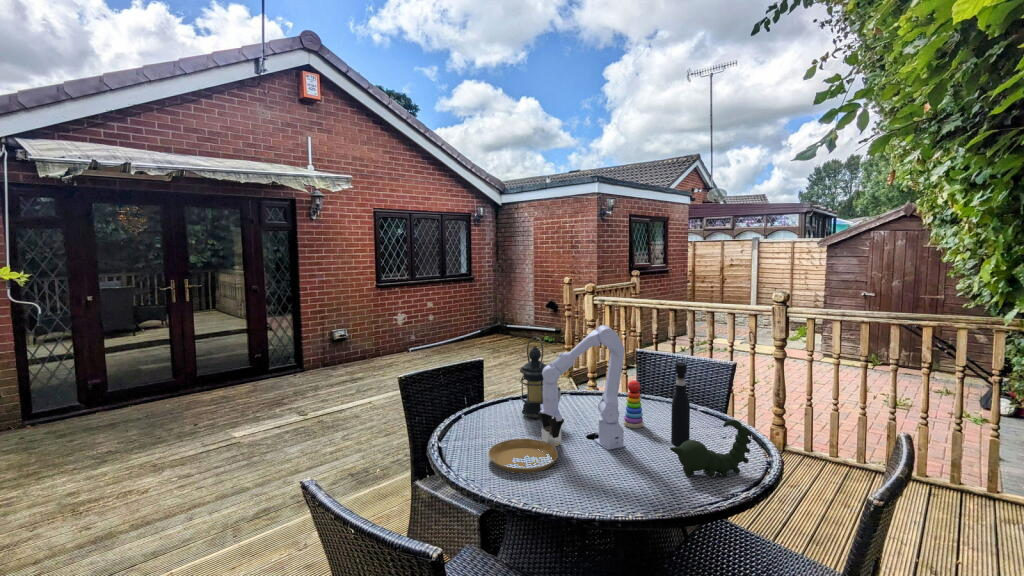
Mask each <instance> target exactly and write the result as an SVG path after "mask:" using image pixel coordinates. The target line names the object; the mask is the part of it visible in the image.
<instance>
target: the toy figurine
mask: <svg viewBox="0 0 1024 576" xmlns="http://www.w3.org/2000/svg"><path fill="white" fill-rule="evenodd" d="M728 426H729V427H733V428H734V429H735V430H736V431H737V434H736V435H735V437H734V440H735V441H734V442H733V443H732V447H731V449H730V450H729V452H727V453H721V452H720V453H719V452H718V453H717V452H715V450H710V449H708V448H707V447H706V445H705V444H704V443H702V442H700V441H698V440H693V439H690V440H688V441H685V442H684V443H682V444H681V445H680V447H678V446H674V447H670V448H669V450H670V451H672V452H673V453H674V454H676V455H677V458H678V461H679V462H680V464H681V465H682V466H683V467H682V472H684V474H685V475H686V476H688V477H692V476H694V475H695V472H700V471H704V472H706V475H707V476H708V477H710V478H713V477H715V476H716V473H717V474H720V475H721V477H722V478H724V479H727V478H728V476H729V471H733V474H736V475H737V474H740V472H741V469H740V468H739V464H741V463H742V462H743V463H744V464H748V463H749V461H750V460H749V458H748V457H746V455H745V454H750V452H751V448H748V446H747V445H748V444H751V443H752V439H750V438H749V436H752V431H750V430H749V428H748V427H746V426H743V425H742V423H741V422H740V421H739V420H736V419H728V420H727V421H725V422H724V423H723V425H722V427H723V428H726V427H728Z"/></svg>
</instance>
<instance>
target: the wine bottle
mask: <svg viewBox="0 0 1024 576" xmlns="http://www.w3.org/2000/svg"><path fill="white" fill-rule="evenodd" d="M687 366H688V365H687V364H686V363H684V362H676V363H675V374H677V376H676V377H677V379H676V380H675V390H674V391H675V392H674V395H673V397H672V401H671V424H670V425H671V426H670V427H671V428H670V430H671V432H670V433H671V434H670V435H671V436H670V437H671V438H670V441H671V442H670V443H671V445H673V446H674V447H680V445H681V444H682V443H684V442H685V441H688V440H691V439H690V436H691V435H690V429H691V428H690V425H691V423H690V422H691V421H690V419H691V414H690V413H691V412H690V411H691V405H690V400H689V399H690V398H689V396H688V394H687V384H686V378H685V376H686V374H687V372H688V371H687V370H688V369H687Z"/></svg>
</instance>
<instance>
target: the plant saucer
mask: <svg viewBox="0 0 1024 576" xmlns="http://www.w3.org/2000/svg"><path fill="white" fill-rule="evenodd" d="M538 449H539V450H540V451H539V450H538ZM542 451H543V452H542ZM487 454H488V457H489V459H490V461H491V462H492V464H493V465H495V466H496V467H497V468H499V469H500V468H501V470H502V469H503V471H505V472H508V471H509V472H508V473H511V472H514V473H513V474H518V473H530V474H534V472H536V473H539V471H540V472H542V470H543V471H545V470H547V469H549V468H550V467H551V466H552V465H554V464H555V462H556V461H557V459H558V457H559V452H558V449H557V447H554V446H552V445H551V444H548V443H546V442H543V441H542V440H538V439H533V438H512V439H507V440H503V441H500V442H498V443H496V444H494V445H492V446H491V448H489V450H488V453H487ZM546 454H549V455H550V457H552V460H553V461H552V462H551V463H549V464H547V465H544V466H540V467H535V468H512V467H507V466H504V465H508V464H518V465H519V466H523V467H524V466H526V465H525V464H526V463H522V462H516V463H513V462H512V460H513V458H514V457H515V458H521V459H522V458H524V457H525V456H526V455H528V456H529V457H533V456H534V457H537V458H538V459H539V457H547V455H546ZM539 460H540V462H541V459H539ZM534 463H536V460H535V462H533V463H529V464H531V465H533V464H534ZM536 464H537V465H538V464H539V463H536Z"/></svg>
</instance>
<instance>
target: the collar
mask: <svg viewBox="0 0 1024 576" xmlns="http://www.w3.org/2000/svg"><path fill="white" fill-rule="evenodd" d="M549 429H551V426H546V427H543V426H542V427H541V441H543V442H546V443H548V444H551V445H554V444H559V443H560V444H562V430H561V429H560V432H559V436H558V437H557V438H553V437H552V431H549Z"/></svg>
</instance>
